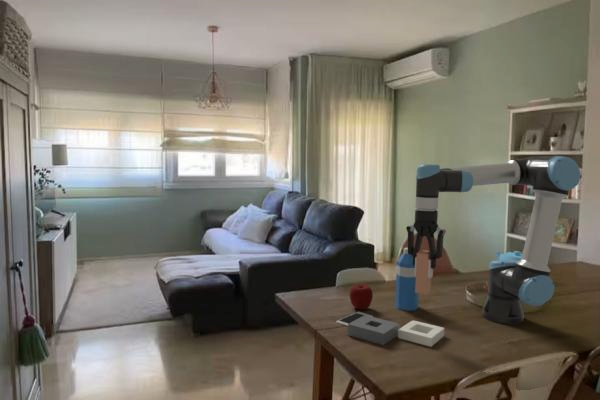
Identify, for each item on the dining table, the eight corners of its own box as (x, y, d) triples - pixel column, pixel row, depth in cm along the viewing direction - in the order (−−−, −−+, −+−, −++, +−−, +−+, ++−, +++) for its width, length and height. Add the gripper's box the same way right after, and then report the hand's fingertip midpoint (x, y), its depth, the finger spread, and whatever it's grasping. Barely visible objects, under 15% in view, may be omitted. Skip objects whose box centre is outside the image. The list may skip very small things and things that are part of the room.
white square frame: (444, 336, 166) (444, 327, 166) (430, 346, 157) (431, 338, 156) (412, 328, 173) (412, 320, 173) (397, 337, 164) (398, 329, 164)
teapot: (538, 279, 246) (539, 253, 244) (529, 282, 238) (530, 256, 237) (497, 270, 262) (498, 246, 261) (487, 273, 255) (488, 249, 253)
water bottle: (418, 311, 192) (420, 251, 189) (395, 309, 194) (397, 250, 191) (417, 304, 201) (419, 247, 198) (395, 302, 203) (397, 245, 200)
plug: (430, 292, 164) (432, 251, 162) (426, 294, 161) (427, 252, 159) (419, 290, 166) (421, 249, 165) (415, 292, 163) (416, 251, 162)
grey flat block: (399, 334, 167) (399, 323, 166) (383, 345, 157) (383, 333, 157) (364, 325, 175) (365, 315, 175) (347, 334, 166) (348, 324, 165)
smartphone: (373, 317, 185) (373, 315, 185) (350, 328, 173) (351, 326, 173) (358, 313, 190) (358, 311, 189) (335, 323, 178) (335, 321, 178)
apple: (344, 308, 194) (345, 284, 193) (358, 303, 201) (358, 280, 200) (363, 314, 188) (364, 289, 187) (376, 308, 195) (377, 284, 194)
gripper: (455, 210, 158) (451, 278, 161) (407, 206, 169) (405, 270, 171) (447, 212, 152) (443, 282, 155) (398, 208, 163) (396, 274, 165)
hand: (423, 276), depth 163 cm, fingers closed on plug, 4 cm apart
